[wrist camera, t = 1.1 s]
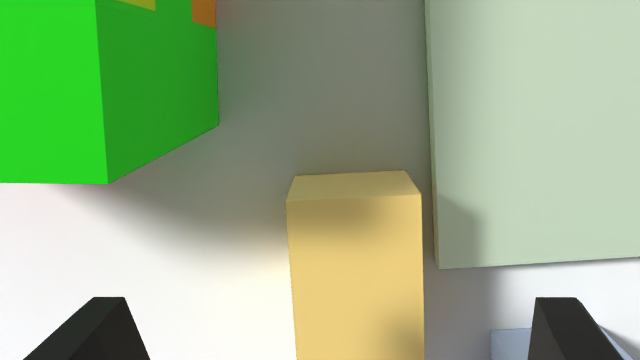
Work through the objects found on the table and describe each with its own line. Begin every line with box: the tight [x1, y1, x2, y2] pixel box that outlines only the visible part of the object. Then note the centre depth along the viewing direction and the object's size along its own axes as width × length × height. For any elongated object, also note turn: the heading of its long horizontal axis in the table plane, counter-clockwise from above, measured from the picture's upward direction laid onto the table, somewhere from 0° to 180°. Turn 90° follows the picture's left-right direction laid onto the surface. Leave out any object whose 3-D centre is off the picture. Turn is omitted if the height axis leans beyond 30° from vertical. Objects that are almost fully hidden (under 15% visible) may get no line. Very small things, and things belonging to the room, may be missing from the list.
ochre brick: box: [285, 170, 425, 360], centre depth 19 cm, size 7×4×4 cm, turn 3°
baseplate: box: [425, 0, 640, 270], centre depth 19 cm, size 10×10×1 cm
